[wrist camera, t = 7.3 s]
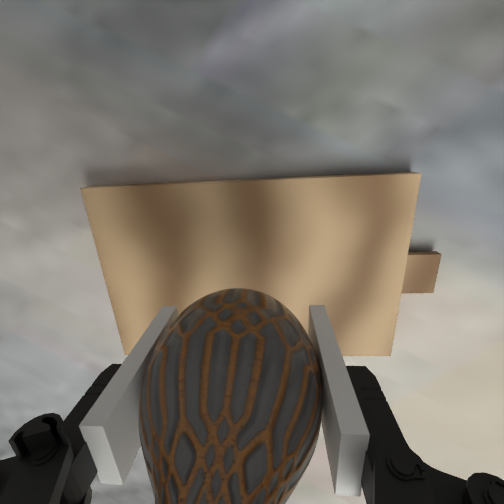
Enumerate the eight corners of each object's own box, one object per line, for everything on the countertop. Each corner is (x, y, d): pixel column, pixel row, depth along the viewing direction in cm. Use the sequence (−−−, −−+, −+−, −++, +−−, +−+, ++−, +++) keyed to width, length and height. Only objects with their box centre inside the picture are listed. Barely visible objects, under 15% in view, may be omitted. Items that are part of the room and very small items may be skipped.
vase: (274, 245, 12) (284, 422, 4) (327, 352, 14) (403, 614, 6) (154, 298, 14) (-10, 507, 6) (218, 389, 16) (164, 641, 8)
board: (131, 345, 24) (125, 354, 23) (91, 186, 19) (80, 188, 18) (414, 345, 22) (422, 356, 21) (450, 170, 17) (462, 171, 16)
